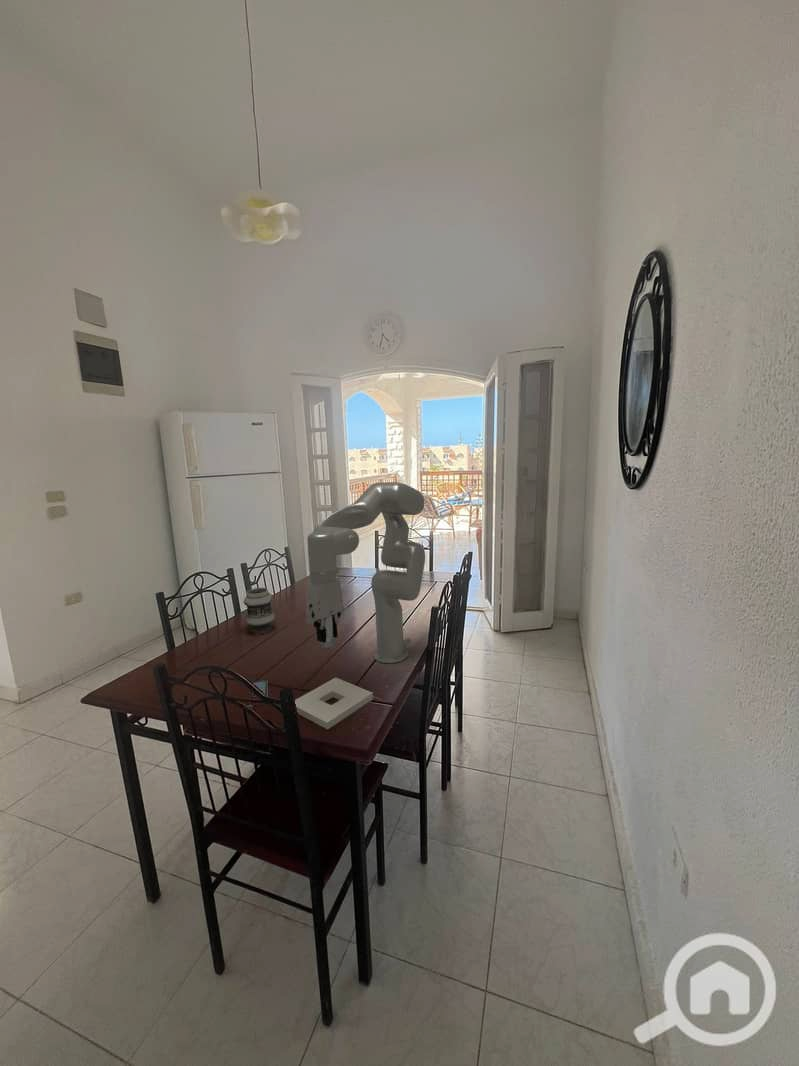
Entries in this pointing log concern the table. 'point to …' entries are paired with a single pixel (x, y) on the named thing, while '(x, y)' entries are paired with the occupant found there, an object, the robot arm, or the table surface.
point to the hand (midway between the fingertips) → (327, 638)
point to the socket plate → (328, 714)
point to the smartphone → (261, 687)
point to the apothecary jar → (259, 610)
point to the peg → (328, 631)
